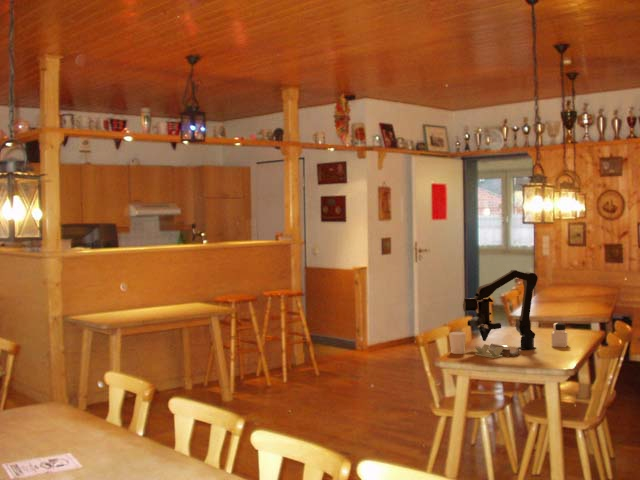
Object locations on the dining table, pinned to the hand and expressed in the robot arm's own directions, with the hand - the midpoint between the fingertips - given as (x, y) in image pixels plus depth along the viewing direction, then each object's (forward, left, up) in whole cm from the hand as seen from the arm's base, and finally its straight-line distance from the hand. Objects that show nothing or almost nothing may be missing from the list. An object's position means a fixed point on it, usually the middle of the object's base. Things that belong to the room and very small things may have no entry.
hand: (484, 340), depth 392 cm
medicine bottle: (-37, +18, -5) cm, 41 cm away
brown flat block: (0, +15, -5) cm, 16 cm away
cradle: (+9, +11, -5) cm, 15 cm away
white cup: (+15, -4, -5) cm, 16 cm away
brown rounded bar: (0, +13, -5) cm, 14 cm away
